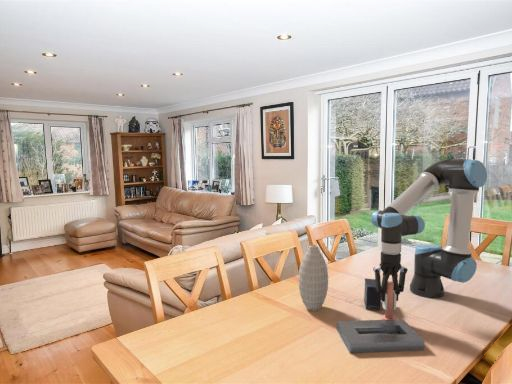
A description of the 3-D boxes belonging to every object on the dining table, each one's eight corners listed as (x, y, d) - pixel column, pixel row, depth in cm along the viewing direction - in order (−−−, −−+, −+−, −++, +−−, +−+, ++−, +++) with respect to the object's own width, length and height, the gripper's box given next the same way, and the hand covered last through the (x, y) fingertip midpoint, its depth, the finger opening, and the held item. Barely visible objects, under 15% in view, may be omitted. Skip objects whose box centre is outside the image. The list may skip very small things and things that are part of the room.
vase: (330, 304, 159) (331, 243, 156) (323, 316, 148) (324, 250, 145) (303, 300, 165) (303, 240, 162) (294, 311, 153) (294, 247, 150)
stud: (392, 317, 146) (393, 279, 145) (397, 322, 141) (398, 284, 140) (380, 317, 146) (381, 280, 144) (385, 323, 141) (386, 284, 139)
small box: (381, 310, 153) (382, 287, 152) (365, 309, 154) (366, 286, 153) (378, 300, 163) (378, 278, 162) (363, 299, 164) (364, 278, 163)
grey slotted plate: (402, 327, 138) (402, 319, 138) (423, 350, 122) (424, 340, 122) (336, 329, 137) (336, 321, 136) (349, 353, 121) (349, 343, 120)
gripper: (406, 248, 145) (404, 303, 147) (367, 250, 144) (366, 305, 147) (415, 254, 137) (413, 311, 140) (374, 255, 136) (373, 313, 139)
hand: (389, 308), depth 143 cm, fingers closed on stud, 3 cm apart
